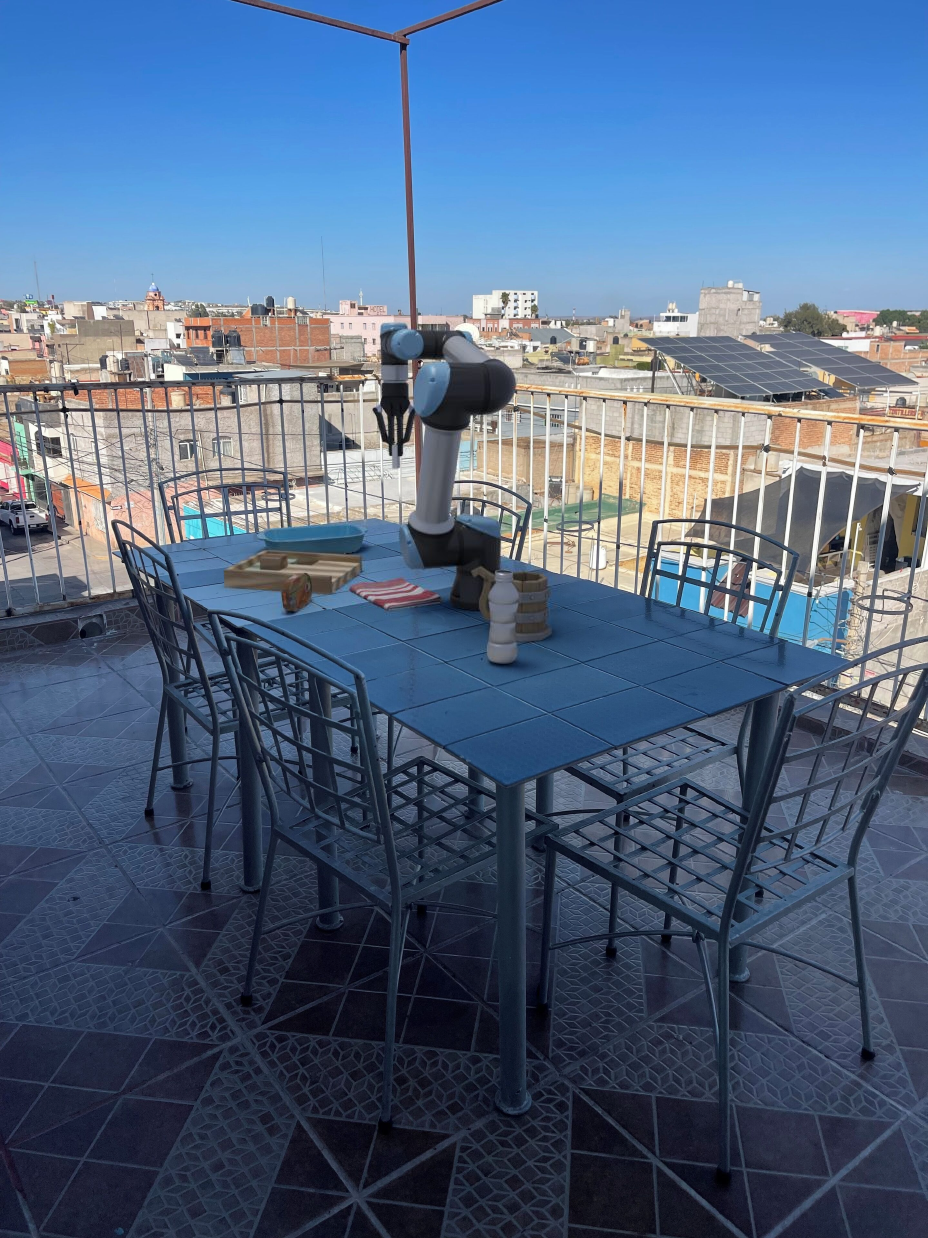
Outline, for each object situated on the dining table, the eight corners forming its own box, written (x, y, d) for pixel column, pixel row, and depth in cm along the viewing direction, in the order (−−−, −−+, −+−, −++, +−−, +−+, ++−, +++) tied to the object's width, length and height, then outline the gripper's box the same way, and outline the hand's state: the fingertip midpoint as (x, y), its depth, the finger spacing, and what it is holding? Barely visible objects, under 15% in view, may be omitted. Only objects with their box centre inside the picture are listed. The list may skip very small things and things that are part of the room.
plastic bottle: (498, 654, 187) (500, 566, 181) (523, 661, 183) (526, 571, 177) (480, 662, 182) (481, 571, 177) (505, 669, 178) (507, 577, 172)
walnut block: (279, 570, 246) (278, 559, 245) (260, 569, 247) (259, 557, 246) (287, 566, 252) (287, 554, 251) (269, 564, 253) (268, 553, 252)
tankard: (558, 630, 204) (560, 570, 200) (534, 645, 194) (537, 581, 189) (485, 617, 214) (486, 559, 209) (459, 631, 203) (460, 570, 199)
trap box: (330, 594, 233) (329, 576, 232) (224, 587, 240) (223, 570, 238) (362, 571, 259) (361, 555, 257) (265, 565, 265) (264, 549, 263)
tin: (291, 615, 214) (290, 583, 212) (280, 615, 215) (278, 582, 212) (313, 600, 228) (312, 569, 226) (302, 599, 229) (301, 568, 226)
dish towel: (402, 584, 246) (401, 575, 245) (443, 604, 227) (443, 594, 226) (348, 592, 237) (348, 583, 237) (387, 613, 219) (387, 603, 218)
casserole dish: (262, 563, 269) (261, 541, 267) (253, 548, 289) (252, 528, 287) (375, 554, 282) (375, 533, 280) (359, 541, 302) (359, 521, 300)
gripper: (421, 381, 237) (421, 467, 244) (376, 381, 239) (378, 465, 246) (414, 382, 230) (414, 470, 237) (368, 381, 232) (370, 468, 239)
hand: (396, 467), depth 241 cm, fingers closed
